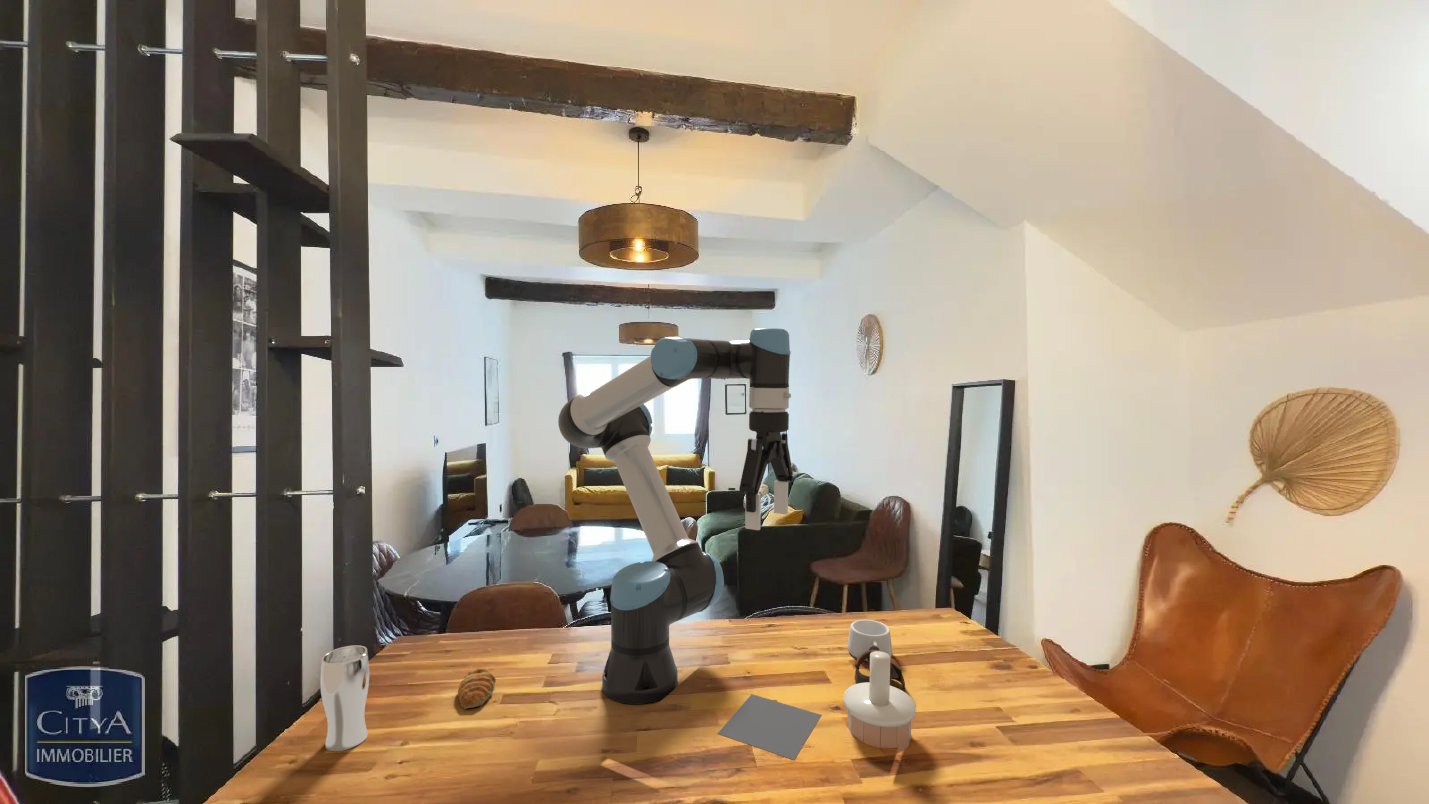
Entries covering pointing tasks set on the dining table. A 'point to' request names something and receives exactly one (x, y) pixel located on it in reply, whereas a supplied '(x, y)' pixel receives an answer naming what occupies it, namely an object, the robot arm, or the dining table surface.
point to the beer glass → (345, 696)
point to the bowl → (880, 734)
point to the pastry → (476, 688)
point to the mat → (771, 726)
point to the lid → (879, 697)
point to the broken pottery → (860, 678)
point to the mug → (868, 637)
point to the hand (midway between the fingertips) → (767, 520)
